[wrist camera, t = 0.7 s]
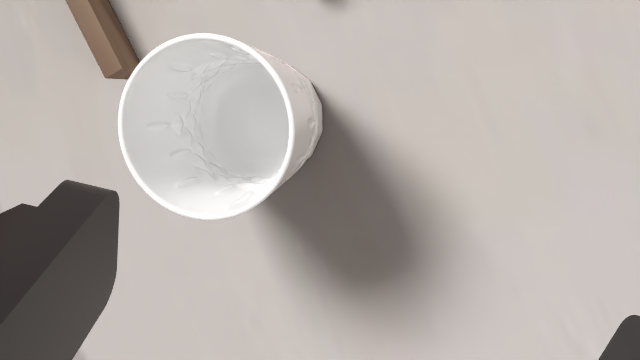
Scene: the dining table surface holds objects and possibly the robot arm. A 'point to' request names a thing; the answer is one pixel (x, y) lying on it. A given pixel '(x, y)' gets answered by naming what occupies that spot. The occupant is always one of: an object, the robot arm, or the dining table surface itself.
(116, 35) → the wooden bracket
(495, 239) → the dining table surface
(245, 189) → the white cup
